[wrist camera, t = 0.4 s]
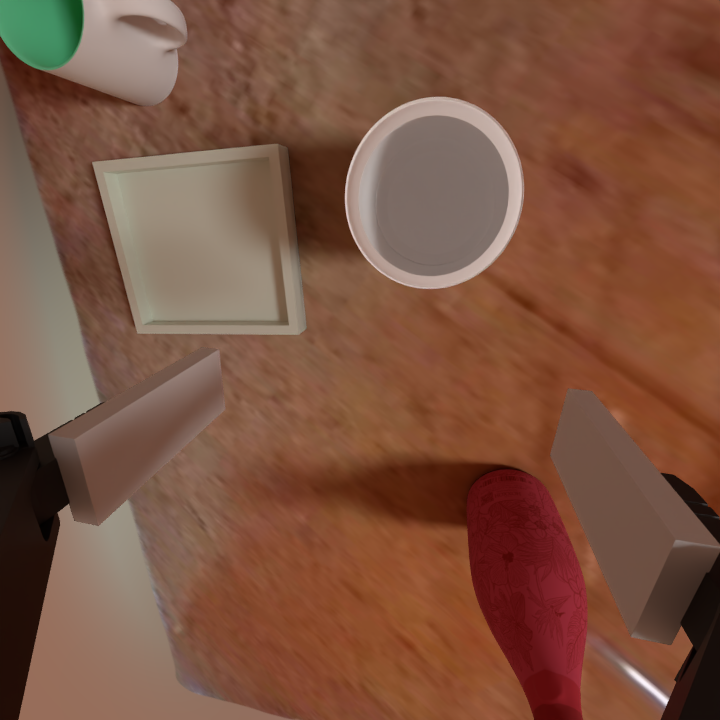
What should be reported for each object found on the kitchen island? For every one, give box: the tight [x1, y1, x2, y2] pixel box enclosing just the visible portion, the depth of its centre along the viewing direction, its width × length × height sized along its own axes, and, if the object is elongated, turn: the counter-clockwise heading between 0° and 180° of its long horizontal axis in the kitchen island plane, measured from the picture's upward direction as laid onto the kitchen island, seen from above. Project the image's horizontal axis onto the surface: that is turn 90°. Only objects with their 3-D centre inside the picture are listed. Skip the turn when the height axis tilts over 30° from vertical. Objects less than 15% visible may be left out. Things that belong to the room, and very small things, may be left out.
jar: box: [345, 97, 524, 289], centre depth 29 cm, size 11×10×15 cm
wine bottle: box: [467, 469, 587, 720], centre depth 32 cm, size 10×10×30 cm
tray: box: [92, 144, 307, 335], centre depth 41 cm, size 18×20×2 cm
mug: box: [0, 0, 187, 106], centre depth 31 cm, size 12×8×10 cm, turn 98°
